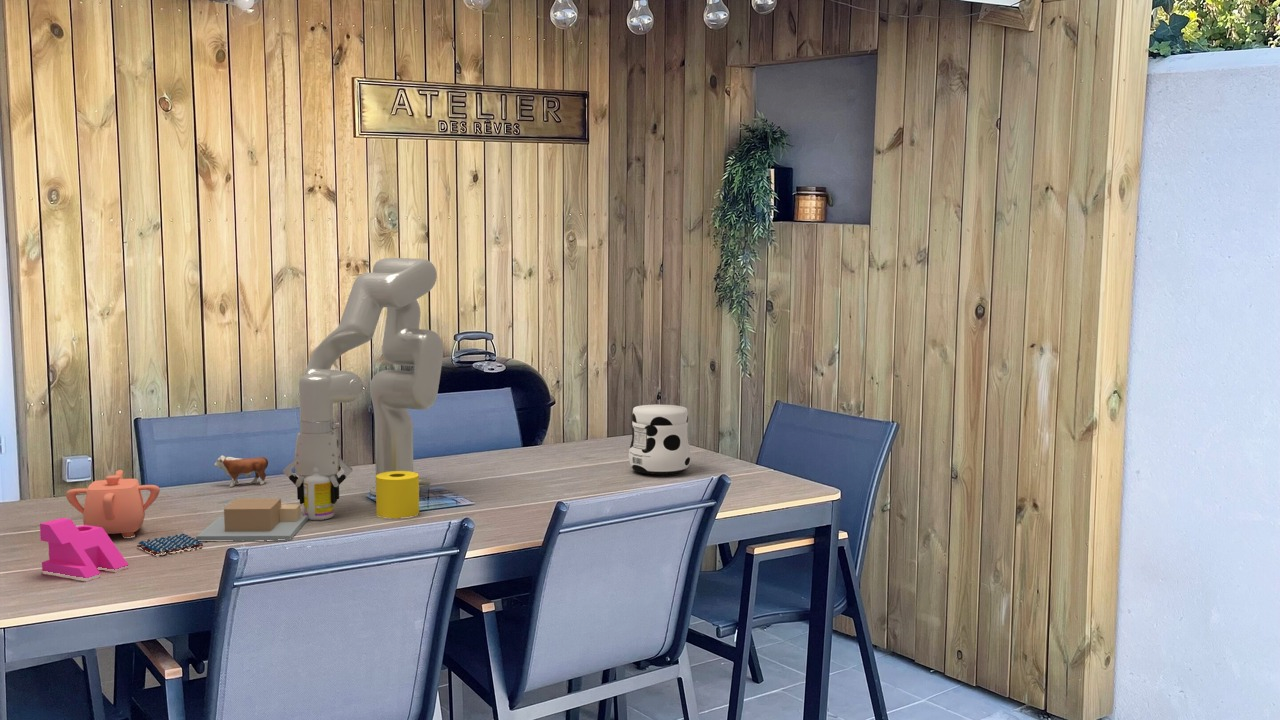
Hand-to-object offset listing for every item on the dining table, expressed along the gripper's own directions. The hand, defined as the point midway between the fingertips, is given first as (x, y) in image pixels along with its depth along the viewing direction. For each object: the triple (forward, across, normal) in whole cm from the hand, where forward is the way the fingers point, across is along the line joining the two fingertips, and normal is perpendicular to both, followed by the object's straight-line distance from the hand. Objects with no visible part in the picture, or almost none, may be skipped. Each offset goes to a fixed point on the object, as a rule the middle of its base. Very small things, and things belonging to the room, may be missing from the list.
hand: (318, 501), depth 284 cm
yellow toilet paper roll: (+4, -18, -3) cm, 19 cm away
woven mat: (+4, +26, +26) cm, 37 cm away
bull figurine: (+4, +27, -36) cm, 45 cm away
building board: (+4, +12, +12) cm, 17 cm away
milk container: (+4, -84, -50) cm, 98 cm away
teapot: (+4, +42, +13) cm, 44 cm away
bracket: (+4, +37, +42) cm, 56 cm away
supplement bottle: (+4, 0, 0) cm, 4 cm away
